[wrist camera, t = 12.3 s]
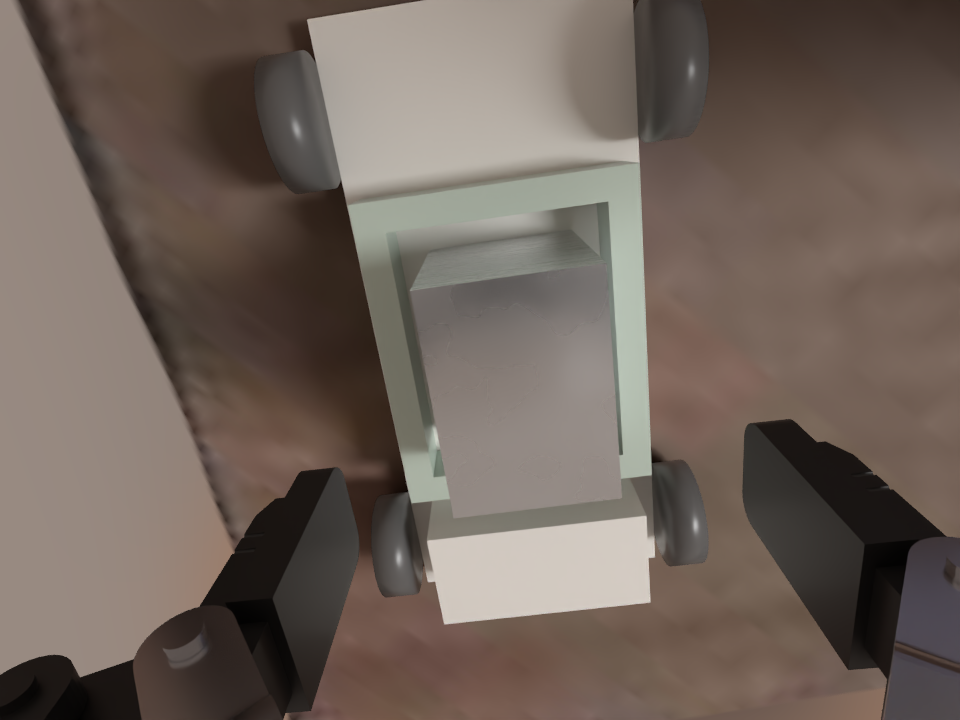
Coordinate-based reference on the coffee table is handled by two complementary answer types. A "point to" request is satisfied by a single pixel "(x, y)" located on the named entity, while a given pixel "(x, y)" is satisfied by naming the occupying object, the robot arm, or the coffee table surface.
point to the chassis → (494, 216)
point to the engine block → (520, 372)
